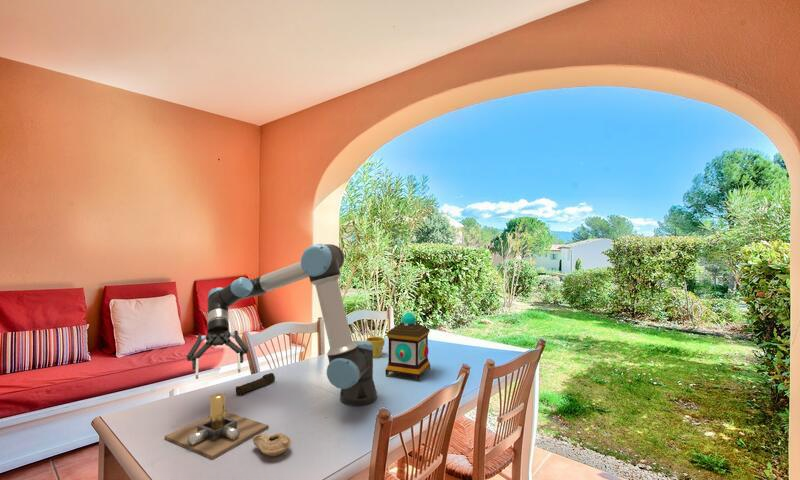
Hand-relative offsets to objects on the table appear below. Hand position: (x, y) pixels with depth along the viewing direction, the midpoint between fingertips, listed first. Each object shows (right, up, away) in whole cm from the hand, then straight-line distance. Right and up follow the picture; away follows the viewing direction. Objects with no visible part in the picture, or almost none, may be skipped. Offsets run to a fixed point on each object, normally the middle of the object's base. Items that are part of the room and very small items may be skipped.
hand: (218, 374), depth 132 cm
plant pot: (+51, -18, +77) cm, 94 cm away
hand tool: (+2, -18, +30) cm, 35 cm away
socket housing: (+6, -16, -13) cm, 21 cm away
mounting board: (+4, -17, -9) cm, 19 cm away
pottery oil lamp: (+25, -17, -19) cm, 36 cm away
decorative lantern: (+69, -18, +50) cm, 87 cm away
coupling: (+5, -16, -10) cm, 19 cm away
